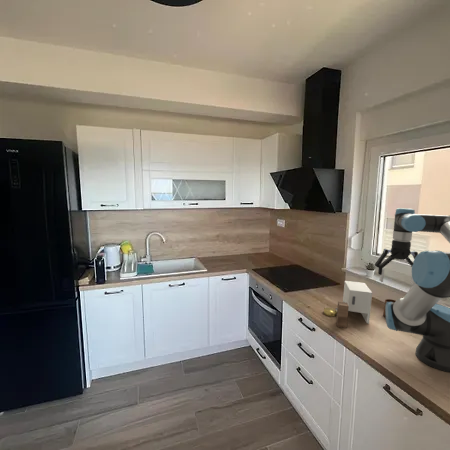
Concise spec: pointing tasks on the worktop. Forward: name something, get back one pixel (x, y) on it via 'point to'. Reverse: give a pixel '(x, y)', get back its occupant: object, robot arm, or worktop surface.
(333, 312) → the brass token
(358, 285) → the cabinet
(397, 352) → the worktop surface
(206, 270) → the worktop surface
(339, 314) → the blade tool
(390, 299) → the mug
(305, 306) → the worktop surface
